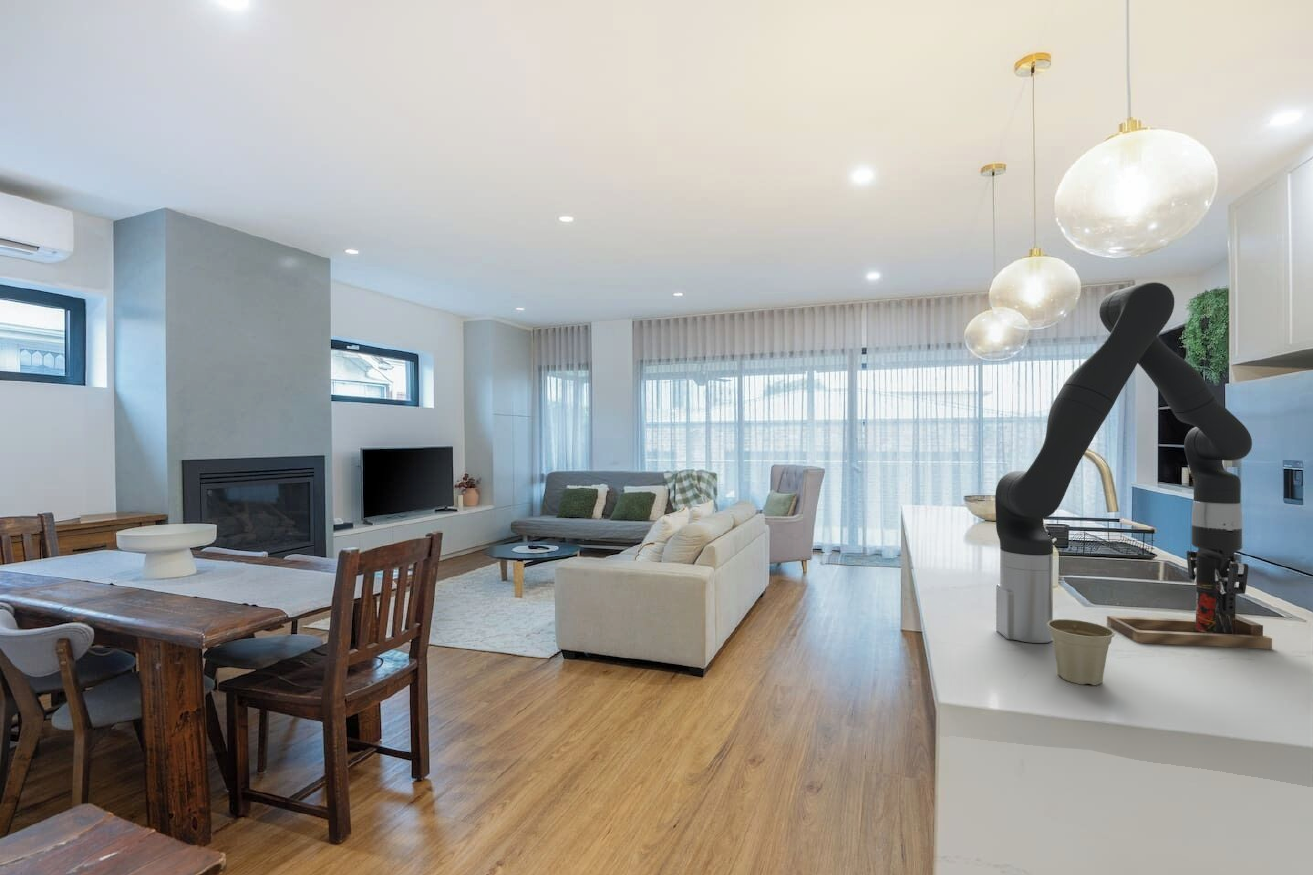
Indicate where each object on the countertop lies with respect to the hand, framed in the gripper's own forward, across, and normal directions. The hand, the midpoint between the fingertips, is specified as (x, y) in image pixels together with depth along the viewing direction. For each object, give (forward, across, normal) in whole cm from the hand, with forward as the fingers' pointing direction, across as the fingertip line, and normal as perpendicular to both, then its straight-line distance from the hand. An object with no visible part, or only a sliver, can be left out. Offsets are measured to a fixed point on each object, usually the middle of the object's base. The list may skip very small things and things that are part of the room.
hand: (1215, 608), depth 126 cm
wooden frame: (+6, 0, -5) cm, 8 cm away
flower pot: (+6, +27, -37) cm, 46 cm away
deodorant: (+5, 0, 0) cm, 5 cm away
